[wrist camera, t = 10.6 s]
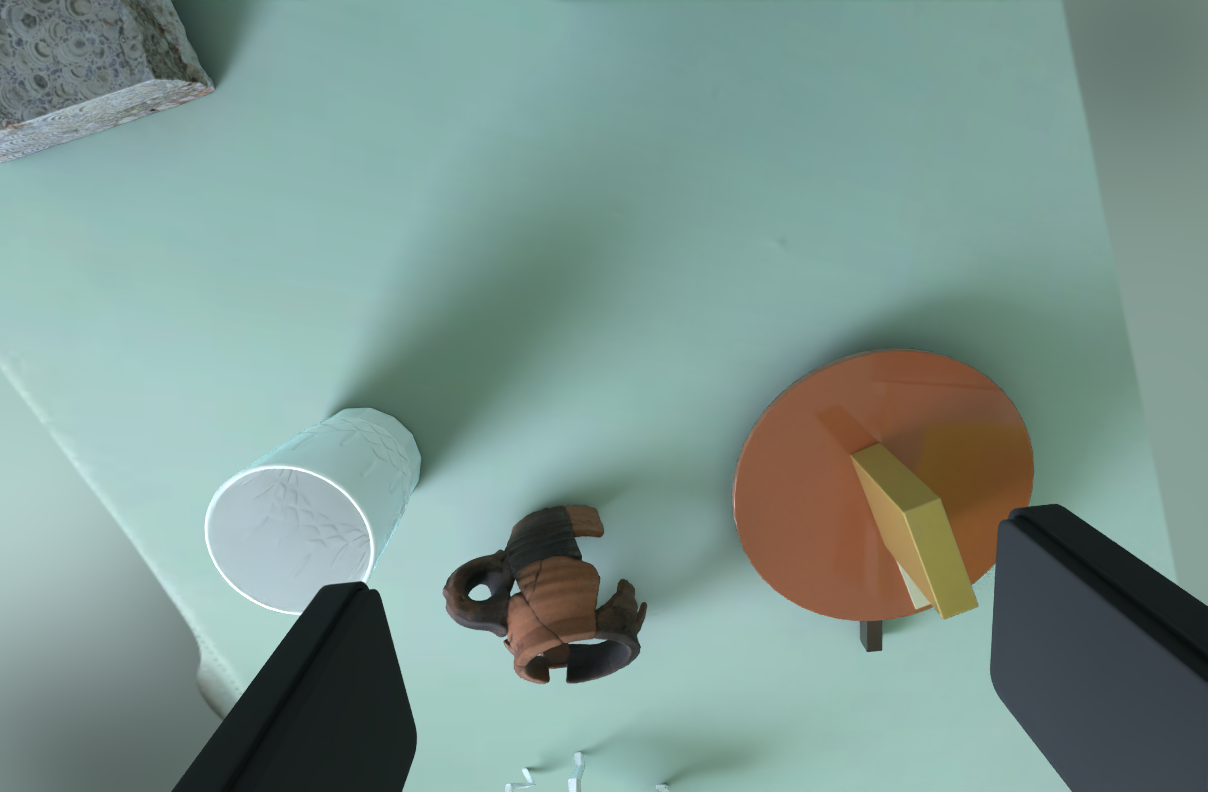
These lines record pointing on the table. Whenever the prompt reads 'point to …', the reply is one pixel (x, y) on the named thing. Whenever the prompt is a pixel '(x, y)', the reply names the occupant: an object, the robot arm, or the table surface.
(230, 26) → the table surface
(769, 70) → the table surface
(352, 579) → the white cup
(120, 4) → the geological specimen
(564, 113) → the table surface
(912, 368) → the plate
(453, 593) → the pottery mug
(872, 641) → the dark grey rectangular block
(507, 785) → the origami figure
